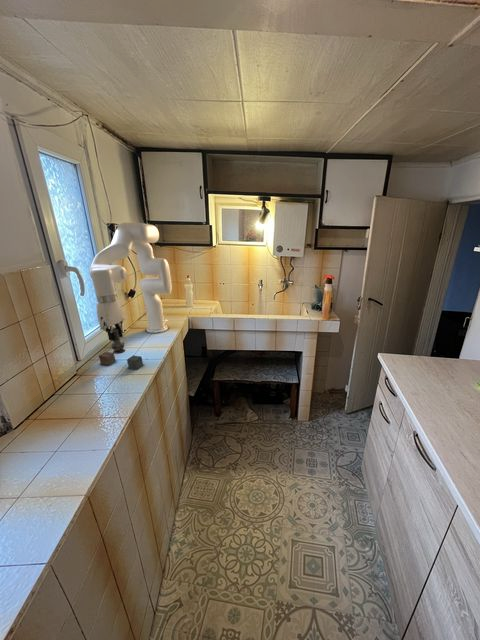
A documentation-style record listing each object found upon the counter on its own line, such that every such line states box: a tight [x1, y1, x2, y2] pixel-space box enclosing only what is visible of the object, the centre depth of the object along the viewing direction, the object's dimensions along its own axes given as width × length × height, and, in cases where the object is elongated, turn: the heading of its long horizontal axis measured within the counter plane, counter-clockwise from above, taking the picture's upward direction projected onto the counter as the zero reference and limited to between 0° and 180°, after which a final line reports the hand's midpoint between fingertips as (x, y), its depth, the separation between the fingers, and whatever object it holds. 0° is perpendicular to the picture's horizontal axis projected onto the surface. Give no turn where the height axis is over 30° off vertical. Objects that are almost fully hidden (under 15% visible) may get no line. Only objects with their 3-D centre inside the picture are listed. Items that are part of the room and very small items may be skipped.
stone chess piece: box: [110, 326, 126, 355], centre depth 126 cm, size 6×6×12 cm
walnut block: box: [98, 351, 116, 366], centre depth 132 cm, size 4×4×4 cm
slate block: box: [126, 355, 144, 370], centre depth 129 cm, size 4×4×4 cm
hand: (116, 338), depth 126 cm, fingers closed on stone chess piece, 3 cm apart
